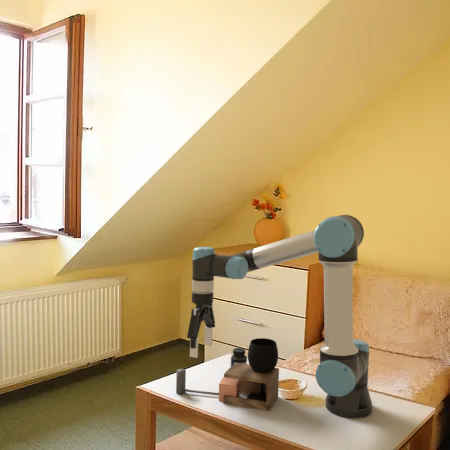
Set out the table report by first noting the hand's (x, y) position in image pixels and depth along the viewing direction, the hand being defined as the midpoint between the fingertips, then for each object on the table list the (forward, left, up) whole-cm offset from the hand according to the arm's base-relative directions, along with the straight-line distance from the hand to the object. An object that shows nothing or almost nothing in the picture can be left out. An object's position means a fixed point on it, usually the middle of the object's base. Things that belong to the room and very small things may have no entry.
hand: (201, 350), depth 184 cm
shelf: (-19, 0, -15) cm, 24 cm away
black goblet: (-22, -3, -15) cm, 27 cm away
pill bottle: (-9, -17, -15) cm, 25 cm away
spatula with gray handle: (-3, +2, -15) cm, 15 cm away
